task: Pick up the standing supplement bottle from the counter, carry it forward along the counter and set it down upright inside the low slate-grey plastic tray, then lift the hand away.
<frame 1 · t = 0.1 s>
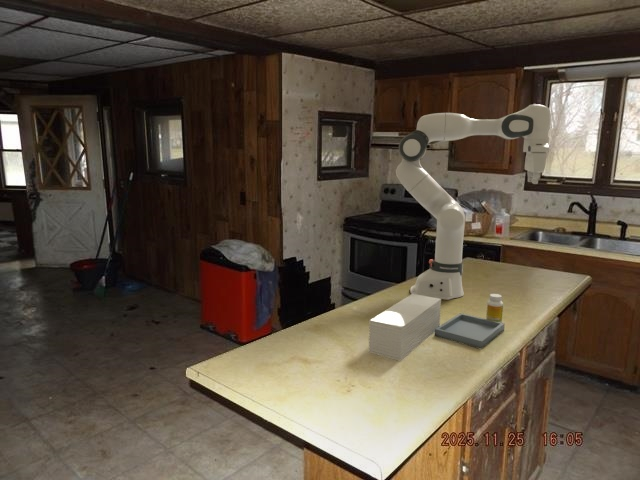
hand: (532, 183, 189), 48 cm above the counter, tool pointing down, fingers open, 8 cm apart
slate tray: (469, 333, 162), on the counter
light grey rectangular block: (406, 340, 157), on the counter
supplement bottle: (493, 321, 173), on the counter
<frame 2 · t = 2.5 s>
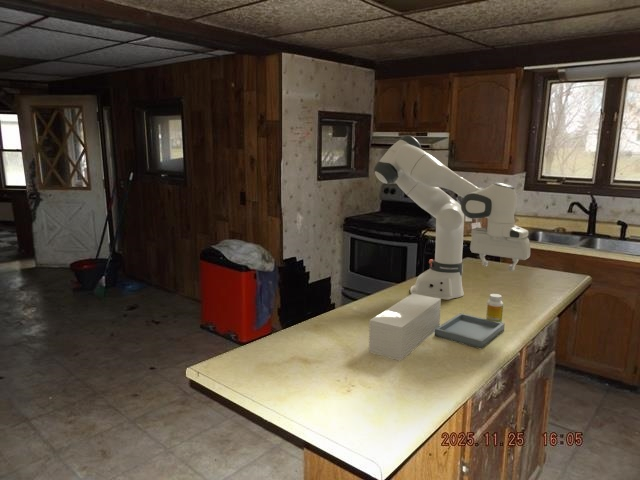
hand: (497, 268, 169), 20 cm above the counter, tool pointing down, fingers open, 8 cm apart
nothing on the counter moved.
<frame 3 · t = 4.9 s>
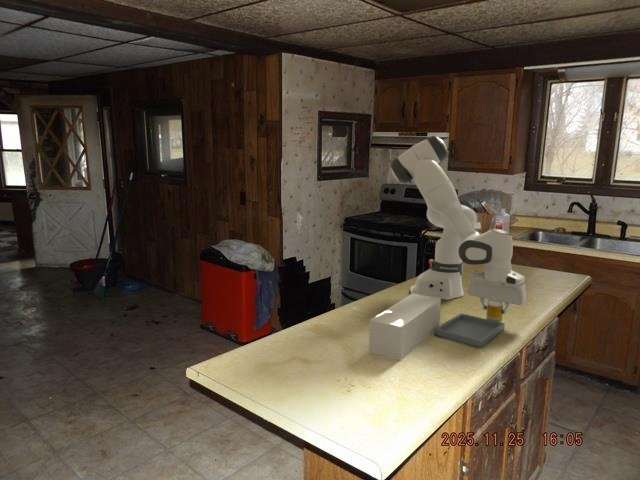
hand: (494, 311, 172), 4 cm above the counter, tool pointing down, fingers closed on supplement bottle, 5 cm apart
supplement bottle: (493, 321, 173), on the counter, touching gripper
everything else where it was.
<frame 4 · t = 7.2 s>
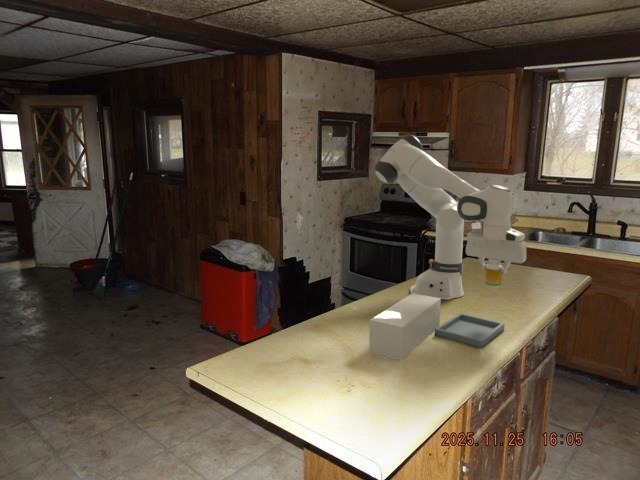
hand: (493, 271, 167), 19 cm above the counter, tool pointing down, fingers closed on supplement bottle, 5 cm apart
supplement bottle: (492, 286, 168), point 14 cm above the counter, touching gripper
everything else where it was.
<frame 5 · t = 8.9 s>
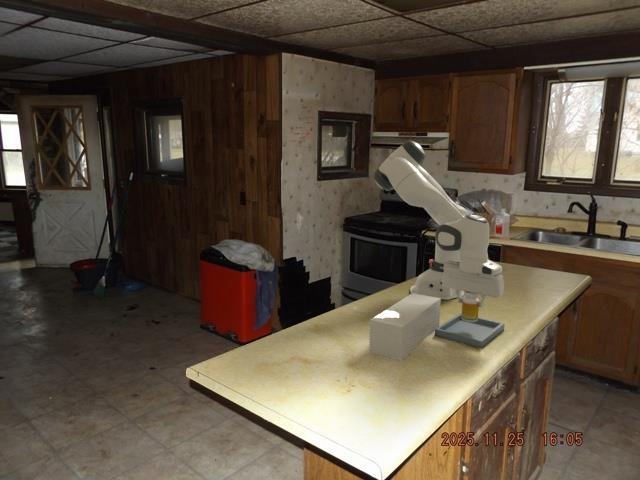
hand: (470, 304, 160), 10 cm above the counter, tool pointing down, fingers closed on supplement bottle, 5 cm apart
supplement bottle: (469, 320, 161), point 5 cm above the counter, touching gripper
everything else where it was.
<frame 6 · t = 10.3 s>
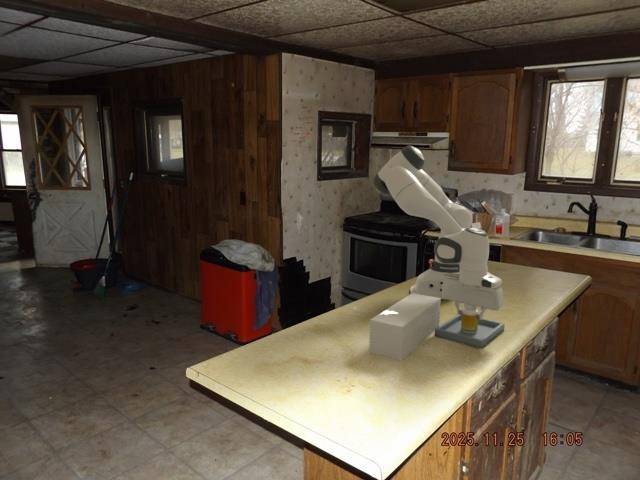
hand: (469, 316, 161), 6 cm above the counter, tool pointing down, fingers closed on supplement bottle, 5 cm apart
supplement bottle: (468, 331, 162), point 1 cm above the counter, touching gripper, slate tray
everything else where it was.
when the fingers open (6 cm above the counter, at t = 10.3 s): supplement bottle stays where it is, resting on slate tray.
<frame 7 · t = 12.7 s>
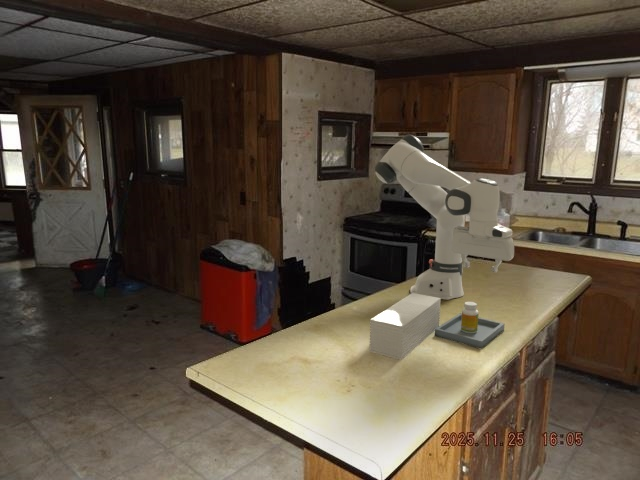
hand: (480, 269, 159), 22 cm above the counter, tool pointing down, fingers open, 8 cm apart
supplement bottle: (468, 331, 162), point 1 cm above the counter, touching slate tray
everything else where it was.
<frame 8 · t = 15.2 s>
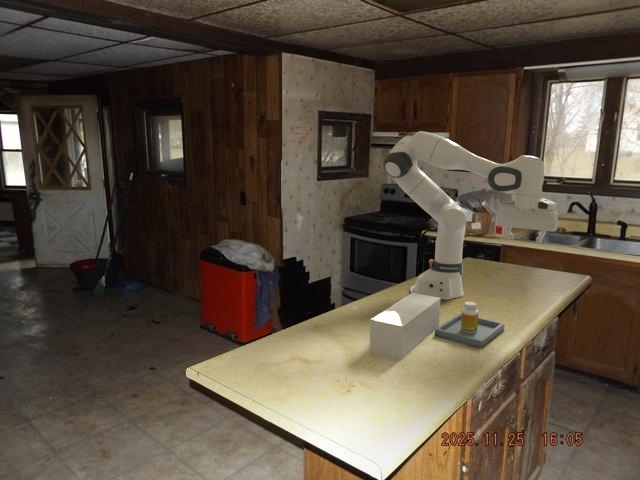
hand: (524, 240, 170), 29 cm above the counter, tool pointing down, fingers open, 8 cm apart
nothing on the counter moved.
at the end: supplement bottle inside the target area on the slate tray (0.3 cm from its centre), point 0.6 cm above the slate tray's base; supplement bottle tilted 0°; the gripper is holding nothing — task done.
